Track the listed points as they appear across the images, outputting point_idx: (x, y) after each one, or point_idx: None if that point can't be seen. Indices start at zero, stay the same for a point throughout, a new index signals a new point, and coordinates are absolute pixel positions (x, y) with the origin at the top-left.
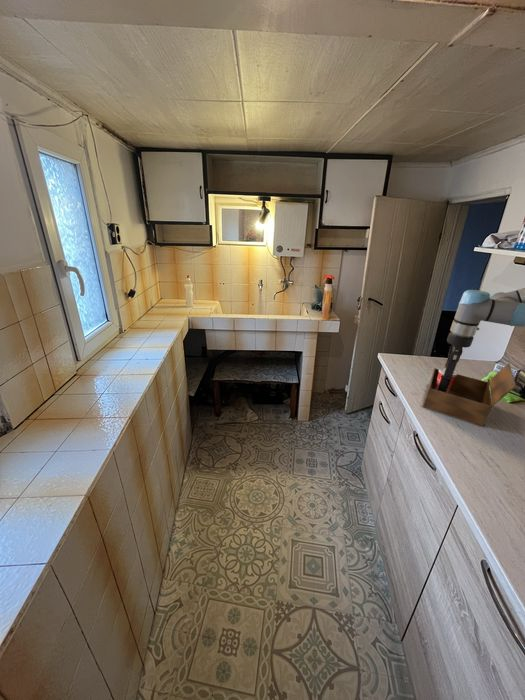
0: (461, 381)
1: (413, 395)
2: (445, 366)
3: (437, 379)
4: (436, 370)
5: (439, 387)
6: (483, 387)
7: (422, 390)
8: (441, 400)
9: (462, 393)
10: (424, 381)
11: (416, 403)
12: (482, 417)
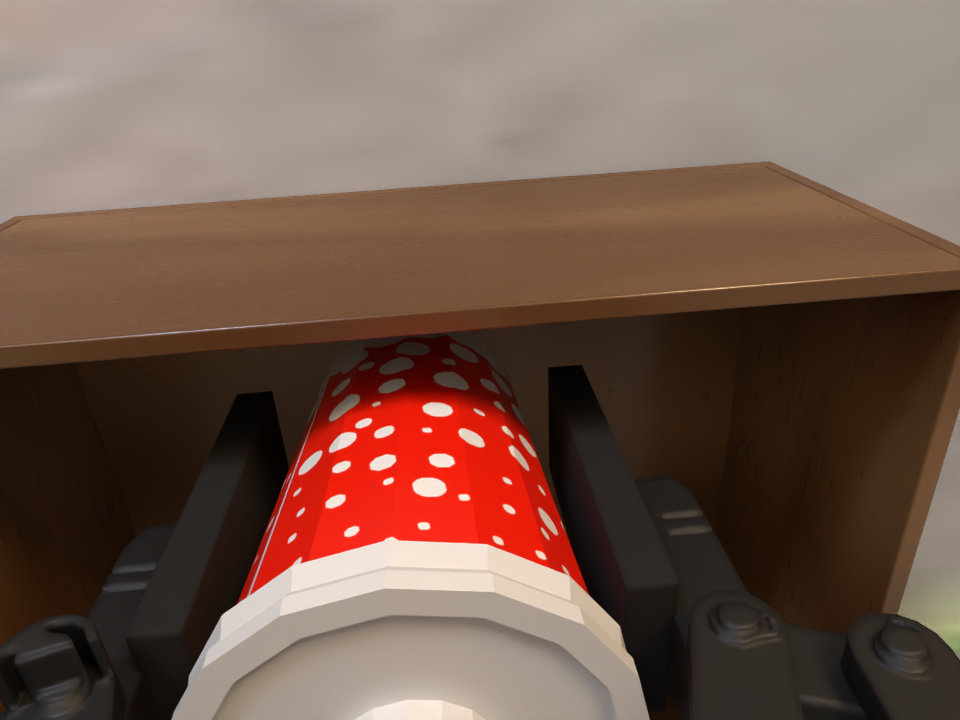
0: (803, 613)
1: (237, 16)
2: (692, 687)
3: (355, 428)
4: (938, 306)
5: (219, 454)
6: None
7: (522, 111)
8: None
9: (719, 535)
10: (868, 77)
11: (22, 115)
12: None
